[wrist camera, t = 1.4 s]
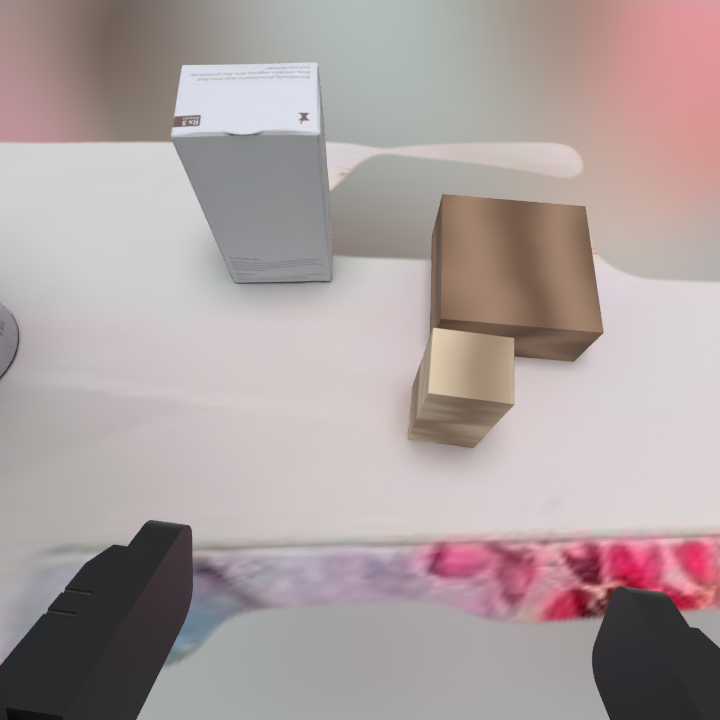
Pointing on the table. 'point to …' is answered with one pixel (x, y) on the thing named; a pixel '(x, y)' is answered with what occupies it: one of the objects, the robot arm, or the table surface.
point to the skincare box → (259, 166)
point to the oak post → (461, 387)
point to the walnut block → (516, 274)
